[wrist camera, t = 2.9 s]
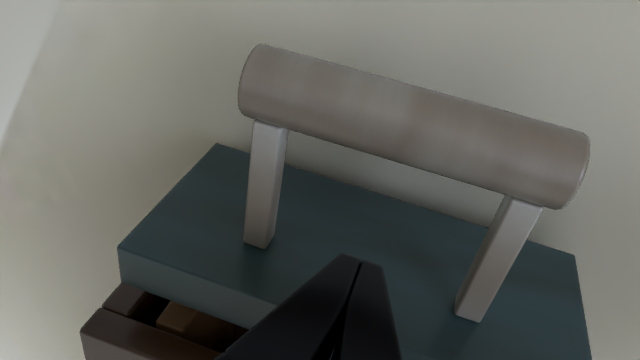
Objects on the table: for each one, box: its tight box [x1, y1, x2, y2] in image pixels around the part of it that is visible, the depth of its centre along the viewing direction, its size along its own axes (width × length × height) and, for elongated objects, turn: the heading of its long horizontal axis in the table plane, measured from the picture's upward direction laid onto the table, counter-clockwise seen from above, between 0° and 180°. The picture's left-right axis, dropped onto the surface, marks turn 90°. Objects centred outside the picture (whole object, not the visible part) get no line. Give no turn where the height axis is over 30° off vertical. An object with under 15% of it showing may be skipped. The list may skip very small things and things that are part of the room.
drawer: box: [117, 44, 592, 360], centre depth 14 cm, size 17×10×5 cm, turn 171°
